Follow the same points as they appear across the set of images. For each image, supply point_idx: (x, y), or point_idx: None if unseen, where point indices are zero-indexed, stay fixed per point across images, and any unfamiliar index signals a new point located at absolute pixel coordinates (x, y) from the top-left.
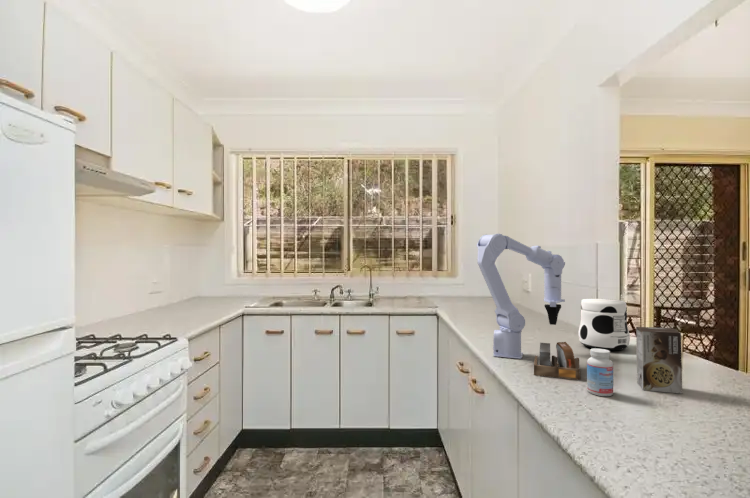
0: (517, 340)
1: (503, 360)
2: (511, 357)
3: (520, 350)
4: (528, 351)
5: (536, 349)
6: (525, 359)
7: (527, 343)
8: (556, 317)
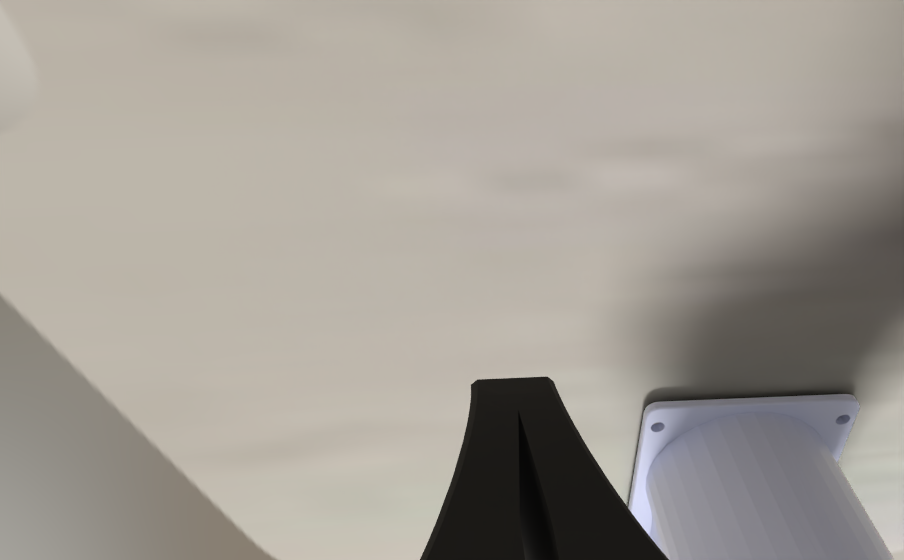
0: (888, 558)
1: (898, 482)
2: (837, 456)
3: (800, 450)
4: (513, 369)
5: (387, 317)
6: (844, 365)
7: (148, 403)
8: (611, 502)
